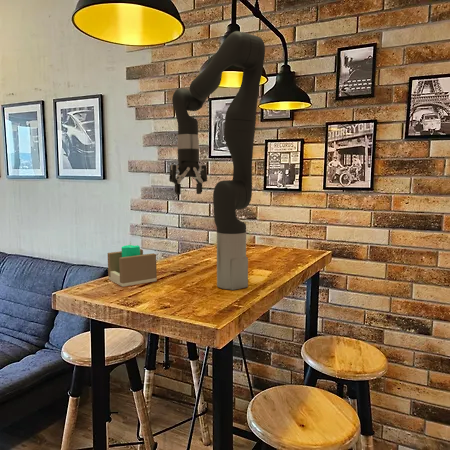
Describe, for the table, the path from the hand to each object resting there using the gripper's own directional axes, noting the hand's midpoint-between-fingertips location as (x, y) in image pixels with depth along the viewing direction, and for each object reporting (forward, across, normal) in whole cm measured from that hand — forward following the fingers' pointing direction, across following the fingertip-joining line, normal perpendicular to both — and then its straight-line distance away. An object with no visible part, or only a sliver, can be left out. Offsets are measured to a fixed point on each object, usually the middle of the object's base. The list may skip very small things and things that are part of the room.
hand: (188, 194), depth 147 cm
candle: (+27, -22, +1) cm, 35 cm away
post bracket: (+28, -22, +1) cm, 36 cm away
